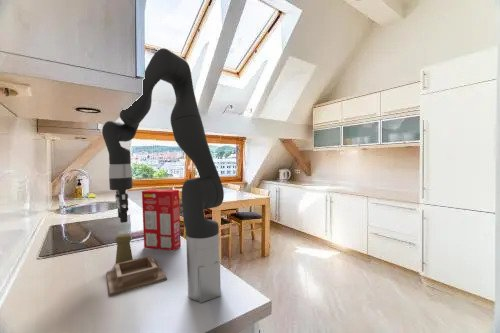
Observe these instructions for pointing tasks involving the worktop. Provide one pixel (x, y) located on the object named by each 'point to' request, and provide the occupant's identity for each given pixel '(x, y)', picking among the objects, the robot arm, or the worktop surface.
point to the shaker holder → (134, 275)
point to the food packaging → (161, 219)
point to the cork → (123, 248)
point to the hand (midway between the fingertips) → (122, 219)
